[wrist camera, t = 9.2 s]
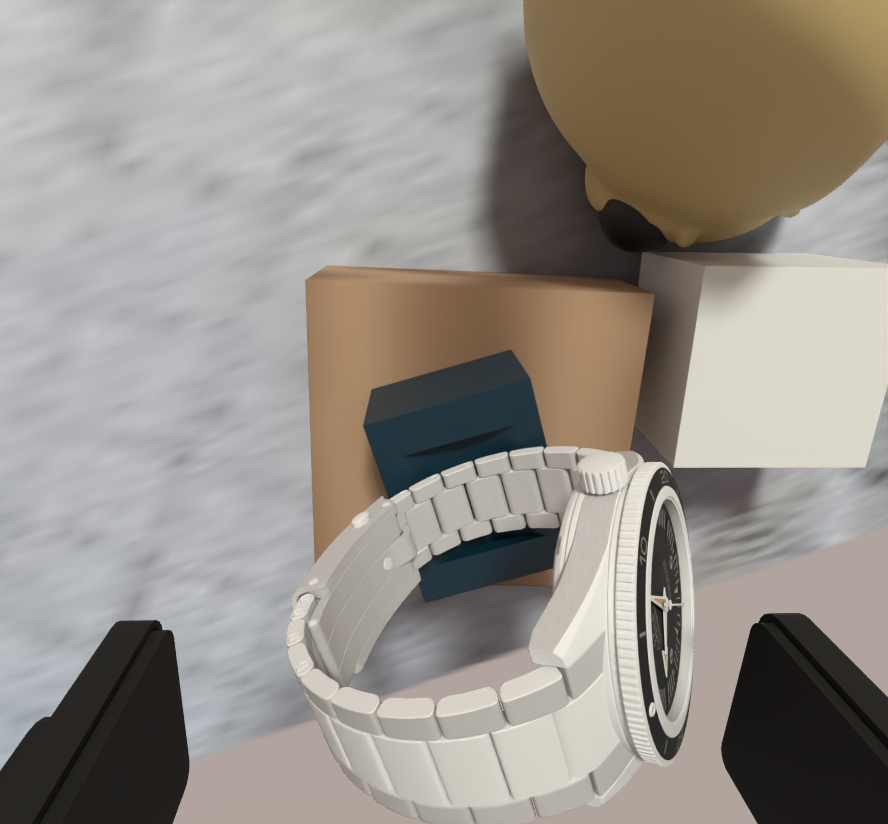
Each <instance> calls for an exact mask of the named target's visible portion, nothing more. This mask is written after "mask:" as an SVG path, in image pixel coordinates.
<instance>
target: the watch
mask: <svg viewBox="0 0 888 824" xmlns="http://www.w3.org/2000/svg"><path fill="white" fill-rule="evenodd" d="M363 427H364V430H365V433H366V436H367V439H368V442H369V444H370V447H371V450H372V453H373V456H374V459H375V461H376V464H377V467H378V470H379V473H380V476H381V478H382V481H383V484H384V487H385V490H386V493H387V495H388V498H389V500H388V499H384V497H383V496H381V497H380V498H379V499H378V500H376V501H375V502H374V503H373V504H372V505H370V506H369V507H368V508H367V509H366V510H365V511H364V512H361V513H359V514H358V515H356V516H355V517H354V518H353V519H352V522H351V524H350V525H349V526H348V527H347V528H346V529H345V530H344V531H343V532H342V533H341V534H340V535H339V536H338V537H337V538H336V539H335V540H334V541H333V542H332V543H331V544H330V545H329V547H328V548H327V549H326V550H325V551H324V553H323V554H322V555H321V556H320V558H319V559H318V560H317V561H316V563H315V564H314V565H313V567H312V568H311V569H310V571H309V572H308V573H307V575H306V576H305V578H304V579H303V581H302V582H301V584H300V585H299V587H298V588H297V590H296V591H295V593H294V594H293V596H292V598H291V601H292V607H293V613H292V615H291V619H290V620H291V622H290V624H289V627H288V631H287V647H288V657H289V661H290V664H291V666H292V669H293V671H294V673H295V675H296V677H297V679H298V681H299V684H300V685H301V687H302V689H303V691H304V694H305V696H306V698H307V700H308V702H309V704H310V706H311V709H312V711H313V713H314V715H315V717H316V719H317V722H318V724H319V726H320V728H321V730H322V732H323V735H324V737H325V739H326V742H327V743H328V746H329V748H330V750H331V752H332V754H333V756H334V758H335V760H336V762H337V763H339V764H340V766H341V768H342V770H343V772H344V773H345V774H346V775H347V777H348V778H349V779H350V780H351V781H352V782H353V783H354V784H355V785H356V786H357V787H358V788H360V789H361V790H362V791H363V792H364V793H366V794H368V795H373V798H374V800H376V801H377V802H378V803H380V804H381V805H383V806H385V807H386V808H388V809H390V810H392V811H394V812H396V813H398V814H401V815H404V816H406V817H409V818H412V819H416V818H418V817H420V819H421V821H423V822H426V823H430V824H475V821H476V824H524V823H529V822H532V821H534V820H535V818H536V814H535V810H534V807H533V804H532V801H531V797H532V798H533V802H534V805H535V808H536V811H537V814H538V816H539V817H541V818H546V817H550V816H554V815H557V814H561V813H564V812H566V811H569V810H572V809H575V808H577V807H580V806H582V805H588V806H592V807H599V806H601V805H602V804H604V803H605V802H607V801H608V800H609V799H610V798H611V797H612V796H614V795H615V794H616V793H617V792H618V791H619V790H620V789H621V788H622V787H623V786H624V785H625V784H626V783H627V782H628V781H629V780H630V779H631V777H632V776H633V775H634V774H635V773H636V771H637V769H638V768H639V767H640V766H641V764H642V763H643V761H645V762H647V763H649V764H653V765H658V766H662V767H666V766H669V765H670V764H671V763H672V762H673V760H674V759H675V757H676V755H677V753H678V750H679V748H680V745H681V743H682V740H683V736H684V733H685V728H686V723H687V719H688V712H689V706H690V698H691V688H692V677H693V660H694V631H695V630H694V629H695V628H694V627H695V626H694V622H695V619H694V589H693V574H692V563H691V554H690V545H689V537H688V531H687V524H686V519H685V514H684V509H683V505H682V501H681V497H680V493H679V490H678V487H677V485H676V482H675V480H674V478H673V476H672V474H671V472H670V470H669V469H668V467H667V466H666V465H665V464H664V463H662V462H645V463H644V460H643V458H642V457H641V456H640V455H639V454H637V453H636V452H634V451H617V452H615V453H614V452H608V451H603V450H598V449H590V448H581V449H579V448H578V447H574V446H553V447H547V444H546V440H545V436H544V432H543V428H542V424H541V420H540V415H539V411H538V407H537V403H536V399H535V395H534V391H533V387H532V382H531V378H530V377H529V375H528V374H527V372H526V371H525V369H524V368H523V366H522V365H521V363H520V362H519V360H518V359H517V357H516V356H515V354H514V353H513V351H512V350H507V351H504V352H500V353H497V354H493V355H490V356H486V357H483V358H479V359H476V360H472V361H469V362H465V363H462V364H458V365H455V366H451V367H448V368H444V369H441V370H437V371H434V372H430V373H427V374H423V375H420V376H416V377H413V378H409V379H406V380H402V381H399V382H395V383H392V384H388V385H385V386H381V387H378V388H374V389H371V394H370V398H369V402H368V406H367V411H366V415H365V419H364V424H363ZM549 569H553V574H552V588H551V599H550V601H549V603H548V605H547V606H546V608H545V610H544V612H543V613H542V615H541V617H540V619H539V620H538V622H537V624H536V625H535V627H534V629H533V631H532V634H531V638H530V642H529V646H528V651H529V654H530V658H531V661H532V663H535V664H541V665H545V666H543V667H540V668H538V669H536V670H534V671H532V672H529V673H527V674H525V675H522V676H520V677H517V678H514V679H512V680H509V681H507V682H505V683H504V684H503V685H502V686H501V688H500V699H501V702H502V705H503V709H504V711H502V708H501V705H500V702H499V699H498V696H497V693H496V691H495V690H494V689H493V688H491V687H484V688H481V689H477V690H473V691H470V692H465V693H461V694H455V695H450V696H447V697H444V698H442V699H441V700H440V701H439V703H438V705H437V708H436V705H435V703H434V701H433V700H432V699H430V698H389V699H386V700H385V701H384V702H383V703H381V700H380V698H379V696H377V695H375V694H371V693H366V692H362V691H359V690H356V689H353V688H350V687H349V685H350V681H351V677H352V675H354V674H357V673H359V672H360V671H361V670H362V669H363V667H364V665H365V663H366V661H367V659H368V657H369V655H370V652H371V650H372V648H373V647H374V645H375V643H376V641H377V639H378V637H379V636H380V634H381V632H382V631H383V629H384V627H385V626H386V624H387V623H388V621H389V620H390V618H391V617H392V615H393V614H394V613H395V611H396V610H397V609H398V607H399V606H400V605H401V603H402V602H403V601H404V600H405V598H406V597H407V596H408V595H409V594H410V592H411V591H412V590H413V589H414V588H415V587H416V586H417V584H418V583H419V586H420V589H421V592H422V595H423V597H424V600H425V603H426V602H429V601H433V600H437V599H441V598H444V597H448V596H452V595H456V594H459V593H463V592H467V591H471V590H474V589H478V588H482V587H486V586H489V585H493V584H497V583H501V582H504V581H508V580H512V579H516V578H519V577H523V576H527V575H531V574H534V573H538V572H542V571H546V570H549ZM490 733H491V734H490ZM491 736H492V737H491ZM492 739H493V740H492ZM493 742H494V743H493ZM494 745H495V746H494ZM495 748H496V749H495ZM496 751H497V752H496ZM497 754H498V755H497ZM498 757H499V758H498ZM499 760H500V761H499ZM501 765H502V766H501ZM502 768H503V769H502ZM503 771H504V772H503ZM504 774H505V775H504ZM505 777H506V778H505ZM506 780H507V781H506Z"/></svg>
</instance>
